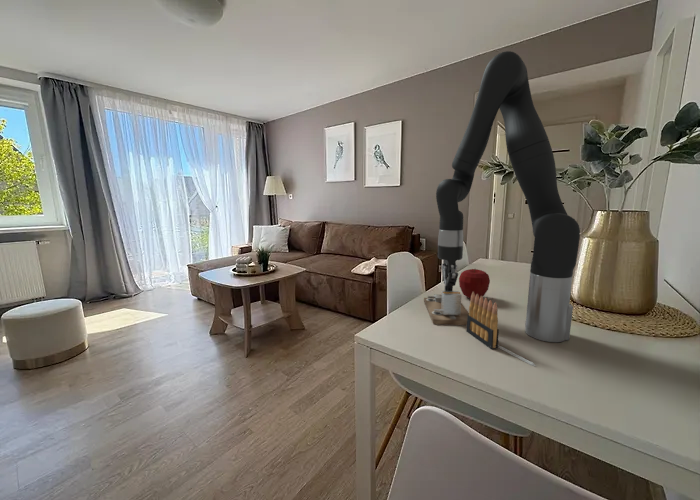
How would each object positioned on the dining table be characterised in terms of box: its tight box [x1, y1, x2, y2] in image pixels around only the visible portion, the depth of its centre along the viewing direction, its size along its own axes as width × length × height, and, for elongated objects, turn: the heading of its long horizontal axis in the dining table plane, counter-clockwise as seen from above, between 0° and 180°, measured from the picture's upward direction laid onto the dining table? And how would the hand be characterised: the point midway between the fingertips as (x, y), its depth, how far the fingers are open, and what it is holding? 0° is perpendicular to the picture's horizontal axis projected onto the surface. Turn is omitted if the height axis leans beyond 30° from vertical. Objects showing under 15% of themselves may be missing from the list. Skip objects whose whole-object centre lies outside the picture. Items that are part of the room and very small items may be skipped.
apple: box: [458, 268, 491, 300], centre depth 109 cm, size 11×11×12 cm
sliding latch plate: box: [423, 294, 469, 326], centre depth 96 cm, size 12×20×3 cm, turn 174°
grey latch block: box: [434, 290, 462, 315], centre depth 90 cm, size 8×4×7 cm, turn 84°
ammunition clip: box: [465, 292, 500, 350], centre depth 77 cm, size 11×2×12 cm, turn 12°
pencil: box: [497, 344, 536, 367], centre depth 71 cm, size 1×1×15 cm
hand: (448, 296), depth 94 cm, fingers closed
